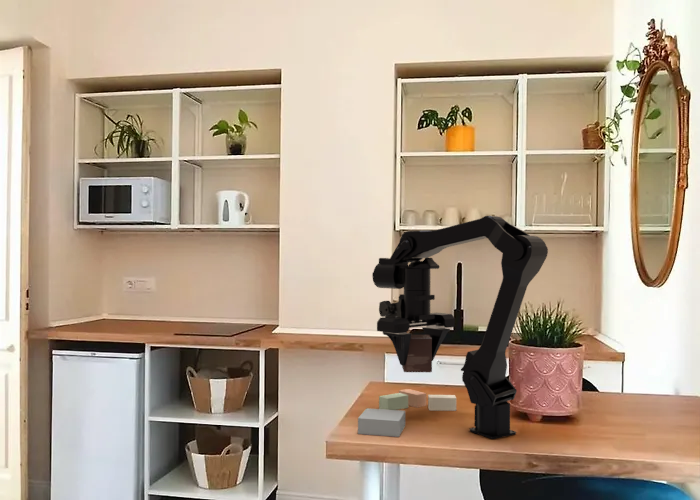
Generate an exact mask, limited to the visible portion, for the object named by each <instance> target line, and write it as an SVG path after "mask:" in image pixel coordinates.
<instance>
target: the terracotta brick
mask: <svg viewBox="0 0 700 500" xmlns="http://www.w3.org/2000/svg"><path fill="white" fill-rule="evenodd" d="M398 393H402V394H406V395H408V407H409V406H410V407H413V408H421V407H422V408H423V407H426V406H427V393H426V392H423V391H418V390H416V389H415V390H414V389H410V388H405V389H400V390H398Z"/></svg>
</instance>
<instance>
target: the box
mask: <svg viewBox="0 0 700 500" xmlns="http://www.w3.org/2000/svg"><path fill="white" fill-rule="evenodd" d="M401 368H402V370H403V372H404V373H433V361H432V338H431V337H430V335H426V334H411V339H410V345H409V350H408V356H407V361H406V364H405V365H404V366H403V365H401Z"/></svg>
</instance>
